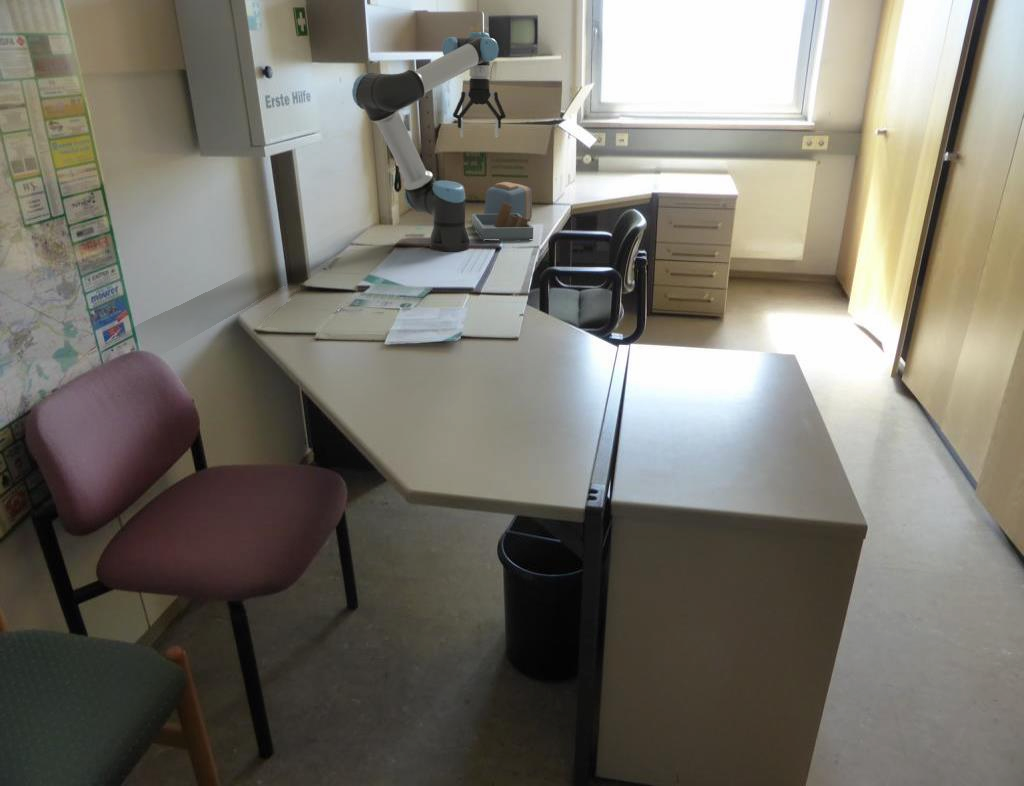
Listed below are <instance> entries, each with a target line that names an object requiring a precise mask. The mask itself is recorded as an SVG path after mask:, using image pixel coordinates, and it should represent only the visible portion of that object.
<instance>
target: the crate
mask: <svg viewBox="0 0 1024 786" xmlns="http://www.w3.org/2000/svg"><path fill="white" fill-rule="evenodd" d="M511 215H513V216H515V217H517V218H518V217H519V216H521V215H520V214H519V213H514V214H509V217H510V216H511ZM497 216H498V214H484V213H472V215H471V227H472V228H473V230H474V231H475V230H476V231H477V232H478V234H479V235H480V236H481V238H482V239H483V240H484V239H499V240H502V241H501V242H507V241H509V242H510V241H514V242H515V241H516V240H520V241H530V240H529V239H533V240H534V226H533V225H531V224H530V223H529V221H528V222H527V224H526V227H503V228H497V227H495V226H494V224H495V221H496V219H497ZM521 217H522V216H521ZM476 231H475V232H476ZM477 232H476V233H477ZM478 234H477V235H478ZM479 235H478V236H479ZM480 236H479V237H480ZM481 238H480V239H481ZM482 239H481V240H482Z"/></svg>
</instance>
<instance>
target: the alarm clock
mask: <svg viewBox="0 0 1024 786" xmlns="http://www.w3.org/2000/svg"><path fill="white" fill-rule="evenodd" d="M532 201H533V198H532V189H531V188H530V187H529V186H526V185H525V184H524V185H523V184H521V183H514V182H510V181H509V182H508V181H502V182H499V183H498V182H497V183H495V184H494V186H492V187H490V188H487V190H486V193H485V201H484V211H483V212H484V213H483V214H499V211H500V209H501V206H502V204H503V202H504V203H507V204H509V205H511V206H512V209H511V212H510V214H514V213H519V214H520V215H521V216H522V217H523V218H525V219H528V221H529V220H531V219H532V218H533V204H532Z"/></svg>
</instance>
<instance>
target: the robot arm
mask: <svg viewBox="0 0 1024 786" xmlns="http://www.w3.org/2000/svg"><path fill="white" fill-rule="evenodd" d="M441 47H442V50H441V52H442V56H440V57H439V58H437V59H435V60H432V61H430V62H428V63H427V64H425V65H423V66H420V67H419V68H417V69H415V70H414V69H408V70H406V71H404V72H400V73H375V72H367V73H366V72H365V73H362V74H361V75H359V76H358V77H357V78H356V79H355V81H354V82H353V86H352V89H351V90H352V91H351V92H352V93H351V94H352V98H353V99H352V100H353V102H354V104H356V106H358V108H360V109H361V110H364V111H365V113H366V115H367V117H368V120H369V121H371V122H372V123H375V124H377V125H376V126H378V129H379V130H380V133H381V135H382V136H383V138H384V141H385V143H386V145H387V146H388V148H389V150H390V153H391V154H392V157H393V158H394V160H395V163H396V164H397V167H398V168H399V170H400V172H401V174H402V177H403V180H404V183H403V189H404V193H403V196H404V200H405V202H406V204H407V206H408V207H410V208H411V209H412V210H414V211H416V212H419V213H422V214H423V213H424V214H427V215H432V216H433V217H432V218H433V228H432V231H431V234H430V237H429V241H428V242H429V246H428V247H429V248H430V249H431V250H435V251H438V252H439V251H440V252H459V251H460V252H461V251H466V250H467V249H469V248H470V247H471V246H470V244H471V243H470V238H469V235H468V231H467V227H466V192H465V191H466V190H465V187H464V186H463V185H462V184H461V183H459V182H457V181H453V180H452V181H450V180H436V179H435V176H434V174H433V173H432V172H431V171H430V170H427V169H426V167H425V165H424V162H423V161H422V158H421V157H420V155H419V153H418V151H417V148H416V146H415V144H414V142H413V140H412V138H411V136H410V133H409V131H408V129H407V127H406V125H405V123H404V120H403V119H402V116H401V114H400V113H399V111H400V110H402V109H405V108H407V107H409V106H411V105H413V104H415V103H417V102H418V101H420V100H422V99H424V97H425V95H426V93H428V92H429V91H431V90H434V89H435V88H437V87H439V86H441V85H443V84H445V83H447V82H448V81H450V80H451V79H453V78H455V77H458V76H459V75H461V74H463V73H465V72H466V71H469V77H470V78H469V90H468V92H467V91H461V92H460V93H461V94H460V97H459V100H458V102H457V105H456V107H455V109H454V111H453V114H452V117H453V118H456V120H457V128H458V129H460V138H463V139H464V119H463V117H464V116H465V114H466V113H467V112H468V111H469V109H470V108H471V106H473V105H474V104H475V105H482V106H483V105H486V106H487V107H488V109H489V110H490V111H491V113H492V114H493V115H494V117H496V119H494V138H496V139H497V138H499V129H501V126H502V124H501V122H502V119H505V118H506V113H505V111H504V109H503V106H502V105H501V102H500V100H499V96H498V95H499V94H498V92H497V91H494V92H490V79H489V78H490V62H493V61H494V60H496V58H498V56H499V45H498V42H497V40H495V39H494V38H492V37H490V33H488V32H479V31H478V32H477V31H475V32H474V31H472V32H470V33H469V37H464V36H463V37H461V36H460V37H458V36H448V37H446V38H445V39H444V40H443V42H442V45H441ZM468 97H469V99H470V100H469V101H468V102H467V103H466V104H465V106H464V108H463V109H462V108H461V107H462V105H463V104H464V101H465V99H467V98H468ZM490 98H492V99H493V100H494V103H495V105H496V107H497V109H498V111H497V110H496V108H494V106H493V105H492V103H491V102H490V100H489V99H490ZM461 109H462V110H461ZM460 110H461V111H460ZM459 112H460V113H459Z"/></svg>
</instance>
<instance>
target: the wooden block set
mask: <svg viewBox="0 0 1024 786" xmlns="http://www.w3.org/2000/svg"><path fill="white" fill-rule="evenodd" d="M511 209H512V206H511V205H509V204H507V203H504V202H503V204H502V206H501V209H500V211H499V214H498V216H497V219H496V221H495V224H494V226H495V227H497V228H503V227H526V224H527V222H528V223H529V220H528V219H525V218H523V217H521V216H519V217H518V218H517V217H515V216H513V215H511V216H510V217H509V214H510V212H511Z"/></svg>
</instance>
